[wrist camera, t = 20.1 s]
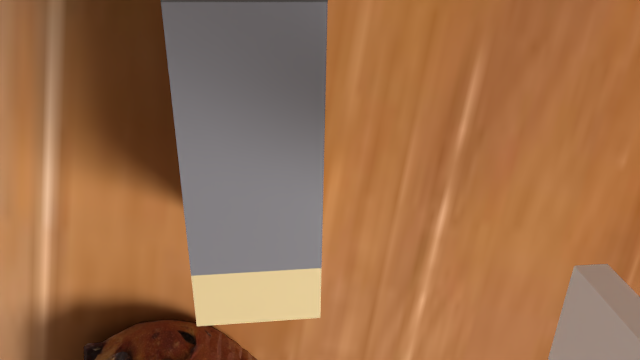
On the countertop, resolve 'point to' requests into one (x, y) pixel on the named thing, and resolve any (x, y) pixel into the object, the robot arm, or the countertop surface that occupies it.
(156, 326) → the bread roll
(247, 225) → the grey rectangular block
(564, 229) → the countertop surface
